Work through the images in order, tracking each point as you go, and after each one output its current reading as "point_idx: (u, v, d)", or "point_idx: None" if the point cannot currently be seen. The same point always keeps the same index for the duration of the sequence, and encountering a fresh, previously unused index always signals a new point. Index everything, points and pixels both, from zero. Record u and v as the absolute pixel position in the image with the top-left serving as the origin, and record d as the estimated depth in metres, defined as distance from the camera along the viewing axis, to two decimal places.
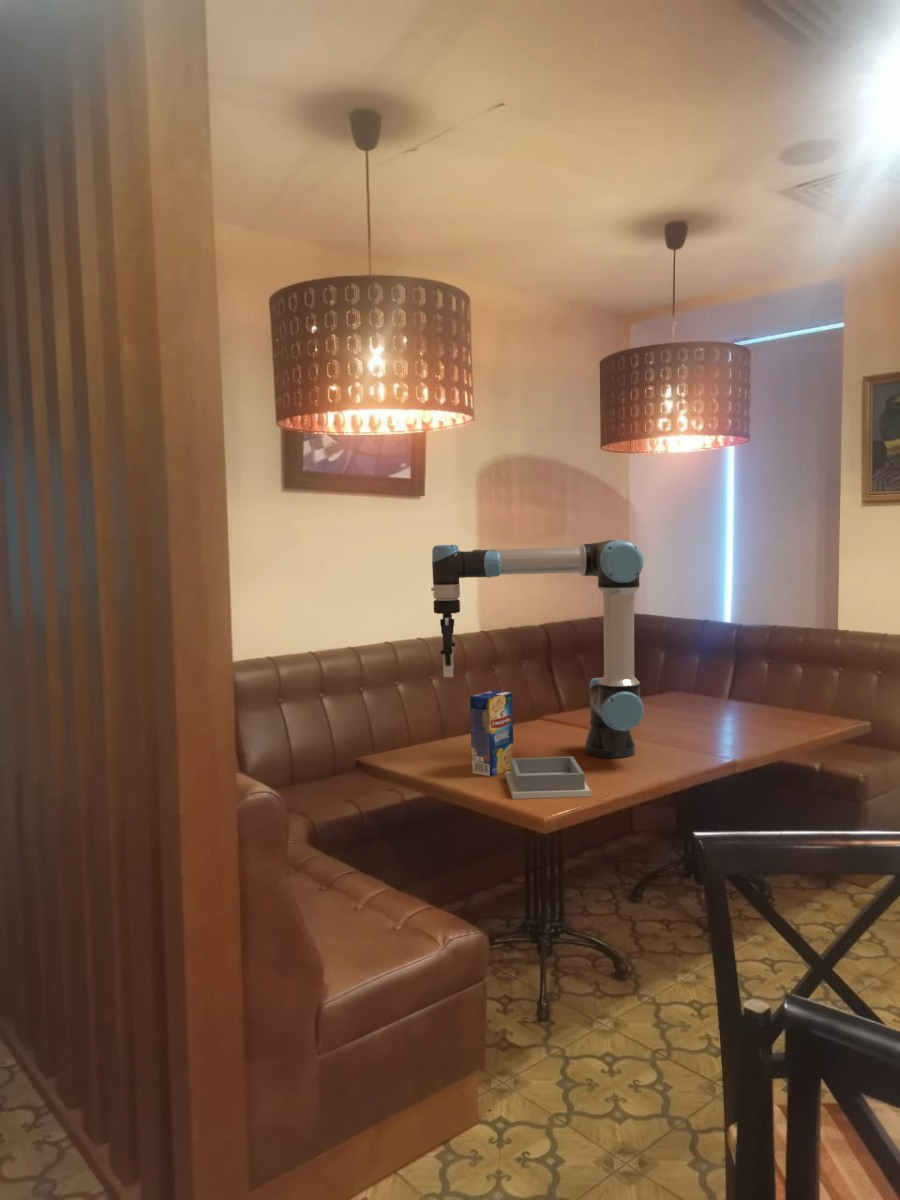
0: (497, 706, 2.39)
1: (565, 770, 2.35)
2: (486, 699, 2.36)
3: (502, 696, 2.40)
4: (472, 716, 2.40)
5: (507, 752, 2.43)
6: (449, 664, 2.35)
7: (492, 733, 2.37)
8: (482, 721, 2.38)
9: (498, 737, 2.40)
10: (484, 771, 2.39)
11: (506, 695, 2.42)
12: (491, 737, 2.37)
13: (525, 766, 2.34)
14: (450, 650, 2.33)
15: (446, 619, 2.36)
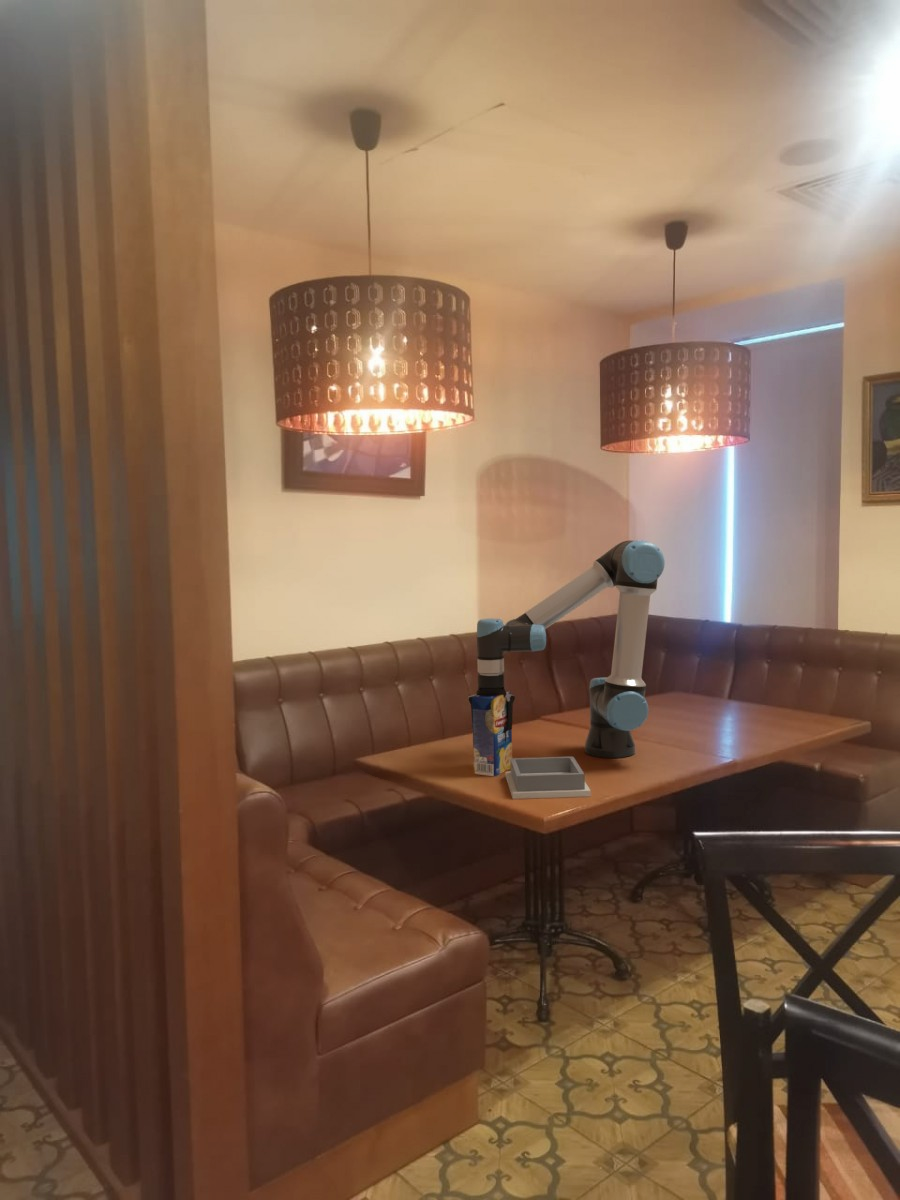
0: (499, 706, 2.39)
1: (565, 770, 2.35)
2: (490, 699, 2.36)
3: (503, 696, 2.41)
4: (474, 717, 2.39)
5: (507, 751, 2.44)
6: None
7: (495, 733, 2.37)
8: (486, 721, 2.38)
9: (500, 736, 2.40)
10: (487, 771, 2.39)
11: None
12: (495, 737, 2.37)
13: (525, 766, 2.34)
14: None
15: (468, 698, 2.42)
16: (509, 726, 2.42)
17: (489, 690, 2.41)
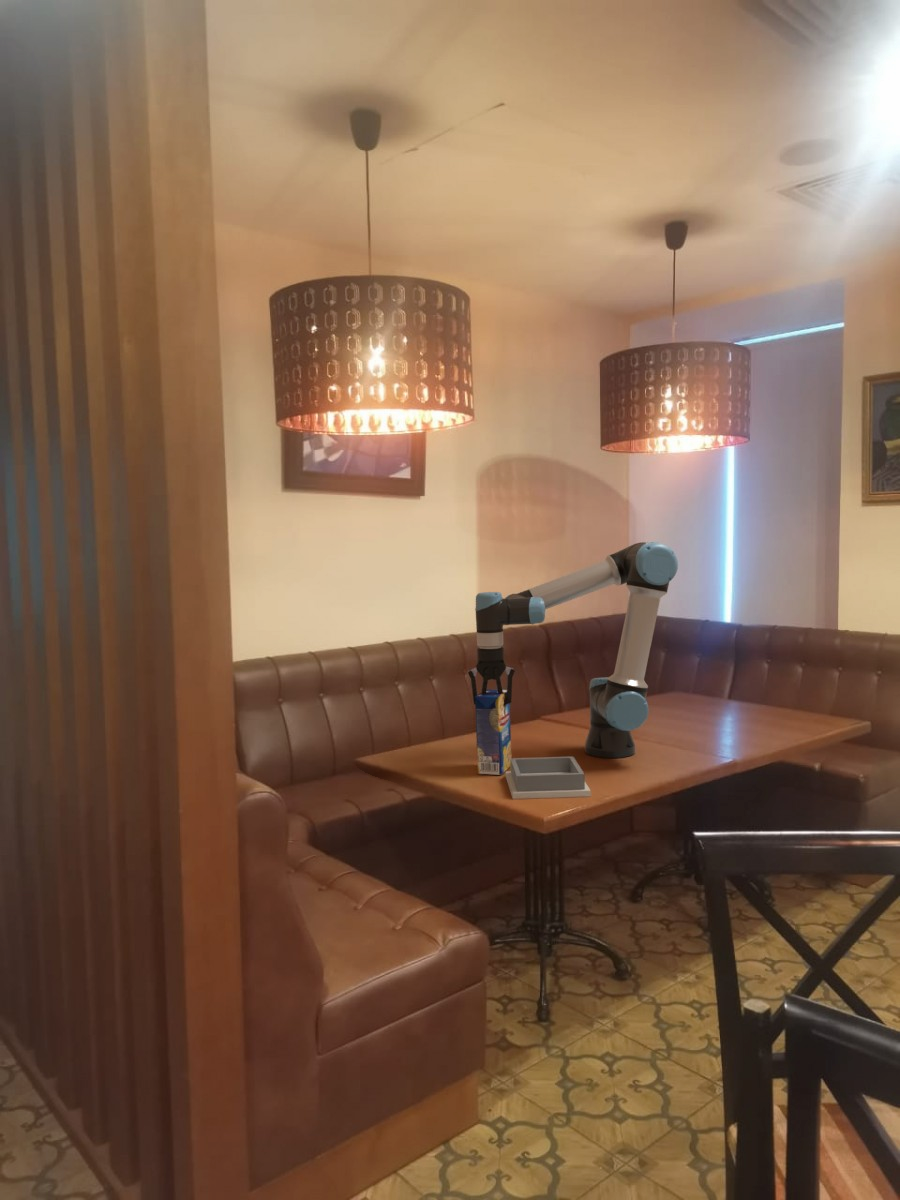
0: (502, 705, 2.40)
1: (565, 770, 2.35)
2: (494, 698, 2.36)
3: (504, 694, 2.42)
4: (478, 716, 2.39)
5: (508, 749, 2.45)
6: None
7: (500, 731, 2.38)
8: (490, 720, 2.38)
9: (503, 735, 2.41)
10: (492, 770, 2.39)
11: (506, 693, 2.44)
12: (500, 735, 2.38)
13: (525, 766, 2.34)
14: None
15: (468, 672, 2.41)
16: (508, 699, 2.41)
17: (489, 663, 2.40)
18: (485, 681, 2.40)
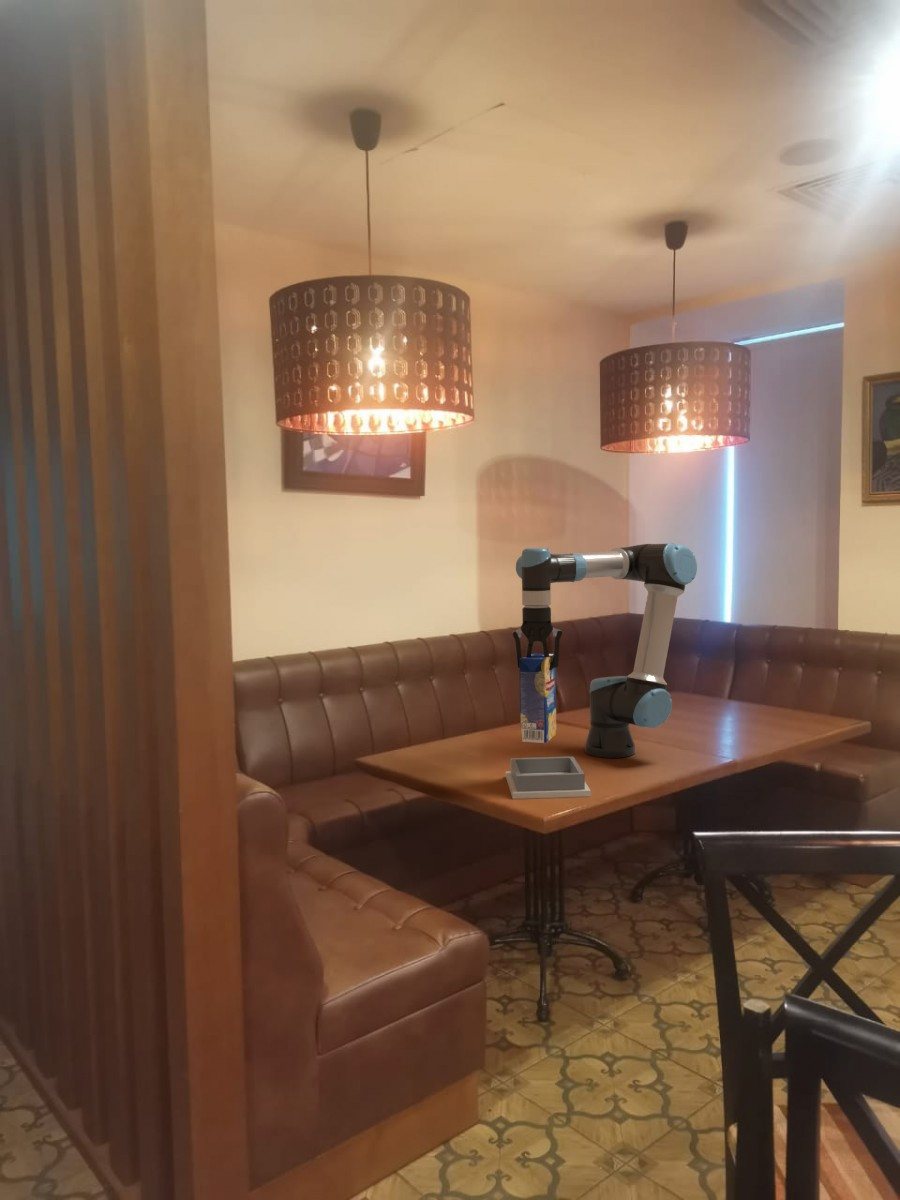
0: (548, 668, 2.24)
1: (565, 770, 2.35)
2: (540, 660, 2.21)
3: (550, 657, 2.26)
4: (522, 680, 2.23)
5: (553, 717, 2.29)
6: None
7: (546, 696, 2.22)
8: (535, 684, 2.22)
9: (549, 700, 2.25)
10: (536, 738, 2.23)
11: (552, 656, 2.28)
12: (546, 700, 2.22)
13: (525, 766, 2.34)
14: (517, 665, 2.26)
15: (512, 633, 2.26)
16: (555, 663, 2.25)
17: (534, 624, 2.25)
18: (530, 643, 2.24)
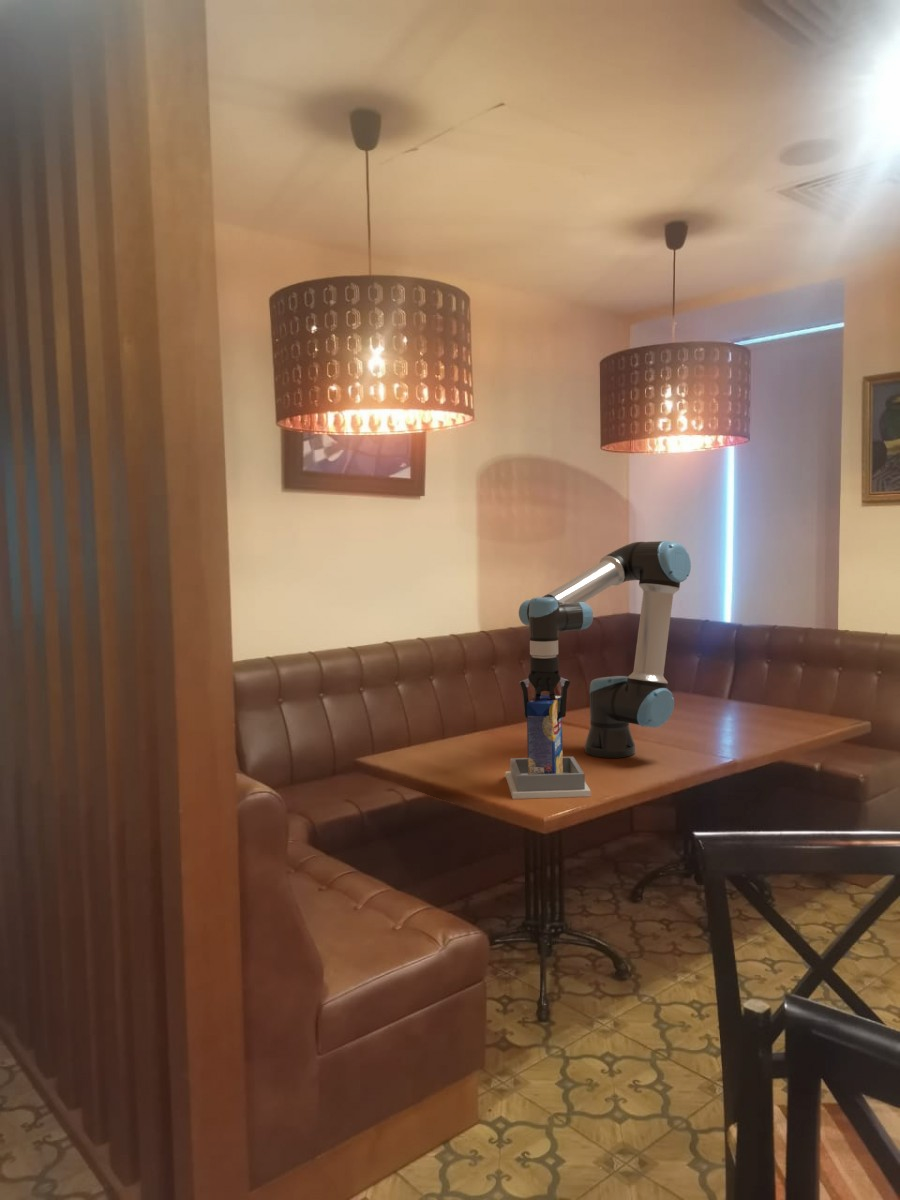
0: (555, 712, 2.23)
1: (565, 770, 2.35)
2: (548, 704, 2.19)
3: (557, 700, 2.25)
4: (529, 724, 2.22)
5: (560, 760, 2.28)
6: None
7: (553, 740, 2.21)
8: (543, 729, 2.21)
9: (556, 744, 2.24)
10: None
11: (559, 699, 2.27)
12: (553, 745, 2.21)
13: (525, 766, 2.34)
14: (525, 715, 2.25)
15: None
16: (562, 713, 2.24)
17: (542, 674, 2.24)
18: (538, 693, 2.23)
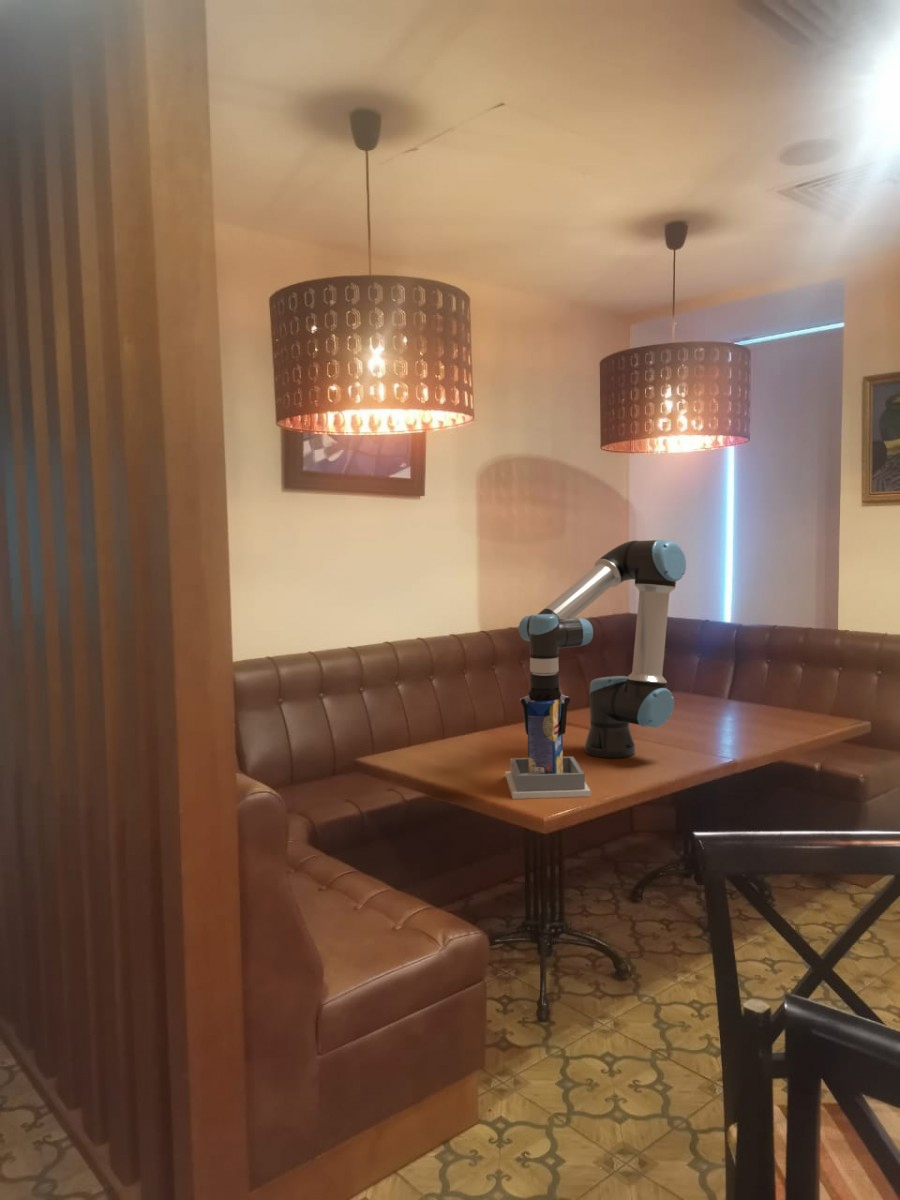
0: (556, 712, 2.23)
1: (565, 770, 2.35)
2: (549, 704, 2.19)
3: (558, 700, 2.25)
4: (530, 724, 2.22)
5: (560, 760, 2.28)
6: None
7: (554, 740, 2.21)
8: (543, 729, 2.20)
9: (557, 744, 2.24)
10: None
11: (559, 699, 2.27)
12: (554, 745, 2.21)
13: (525, 766, 2.34)
14: (526, 732, 2.25)
15: (520, 700, 2.25)
16: (562, 730, 2.25)
17: (542, 690, 2.24)
18: None
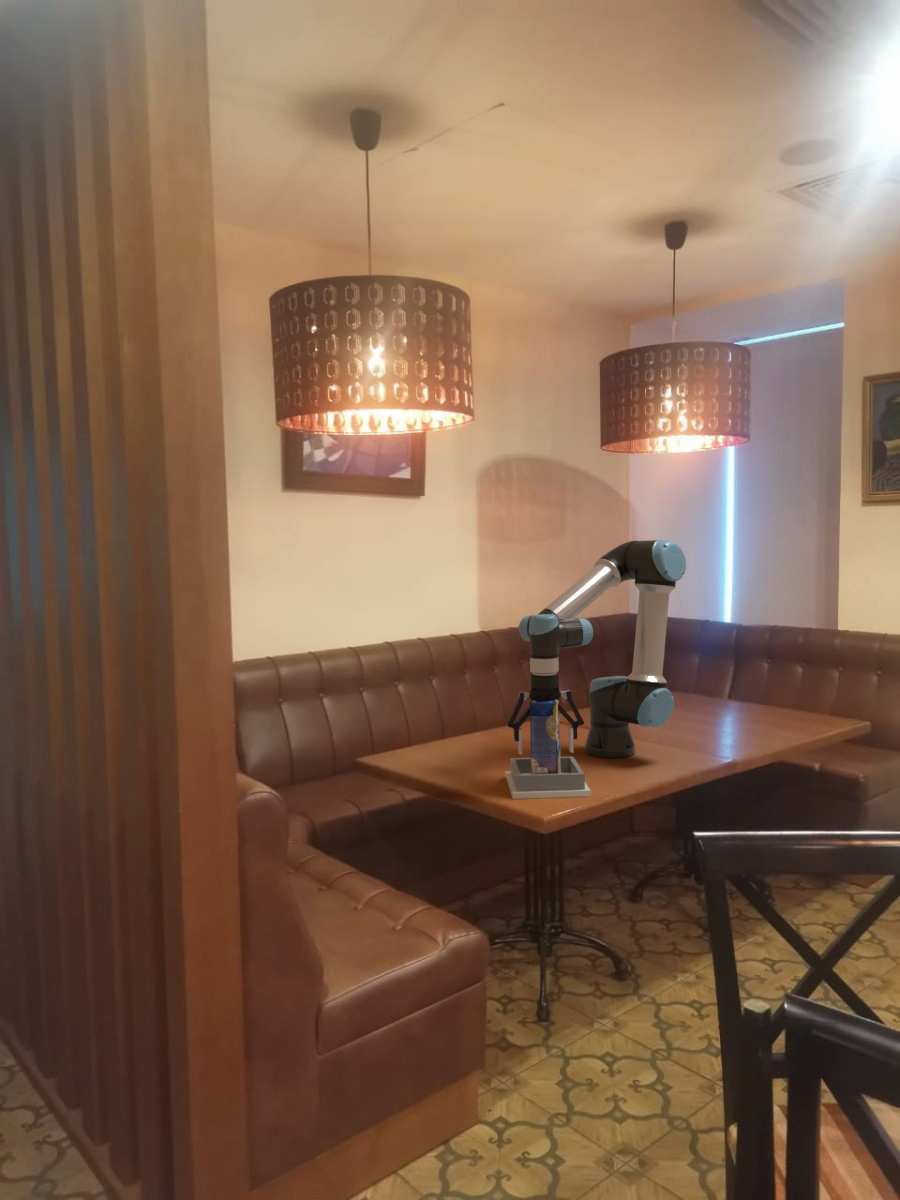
0: (557, 711, 2.23)
1: (565, 770, 2.35)
2: (552, 704, 2.19)
3: None
4: (532, 724, 2.21)
5: (559, 759, 2.28)
6: None
7: (557, 740, 2.21)
8: (546, 729, 2.20)
9: (558, 744, 2.24)
10: None
11: None
12: (557, 744, 2.21)
13: (525, 766, 2.34)
14: (507, 724, 2.25)
15: (519, 693, 2.25)
16: (580, 721, 2.25)
17: (544, 696, 2.24)
18: None
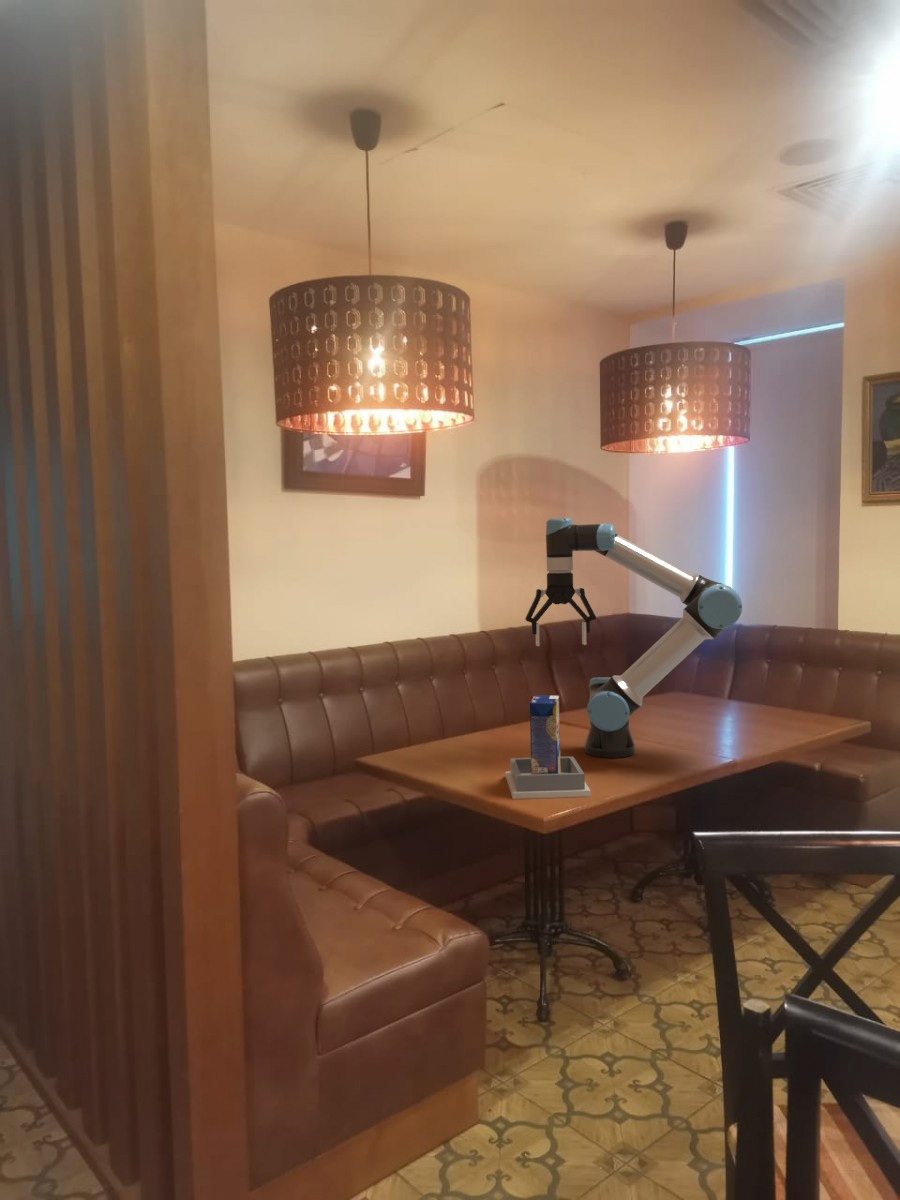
0: (557, 711, 2.23)
1: (565, 770, 2.35)
2: (552, 704, 2.19)
3: (558, 700, 2.25)
4: (532, 724, 2.21)
5: (559, 759, 2.28)
6: (532, 633, 2.47)
7: (557, 740, 2.21)
8: (546, 729, 2.20)
9: (558, 744, 2.24)
10: None
11: (558, 698, 2.27)
12: (557, 744, 2.21)
13: (525, 766, 2.34)
14: (526, 619, 2.46)
15: (536, 590, 2.46)
16: (592, 616, 2.46)
17: (559, 593, 2.45)
18: (549, 603, 2.45)
